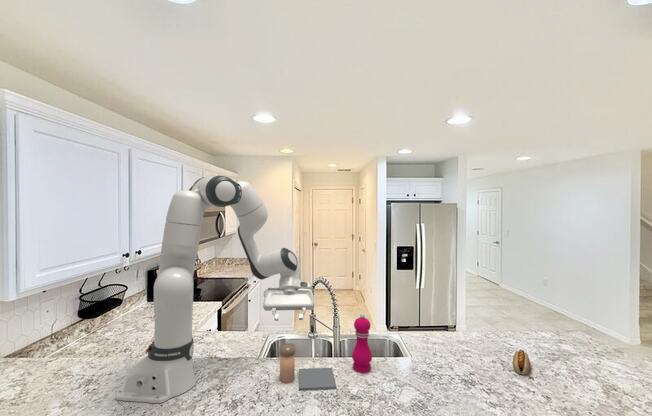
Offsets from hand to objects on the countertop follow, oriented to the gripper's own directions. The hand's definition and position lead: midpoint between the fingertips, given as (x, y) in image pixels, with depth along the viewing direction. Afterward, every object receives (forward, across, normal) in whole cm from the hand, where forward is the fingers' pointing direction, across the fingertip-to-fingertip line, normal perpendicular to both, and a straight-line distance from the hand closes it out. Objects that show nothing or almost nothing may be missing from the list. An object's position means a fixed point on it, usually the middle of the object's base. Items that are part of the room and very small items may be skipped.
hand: (288, 319), depth 115 cm
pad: (+21, +10, +2) cm, 23 cm away
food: (+19, +87, +3) cm, 89 cm away
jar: (+20, 0, +2) cm, 20 cm away
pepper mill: (+16, +27, +6) cm, 32 cm away
